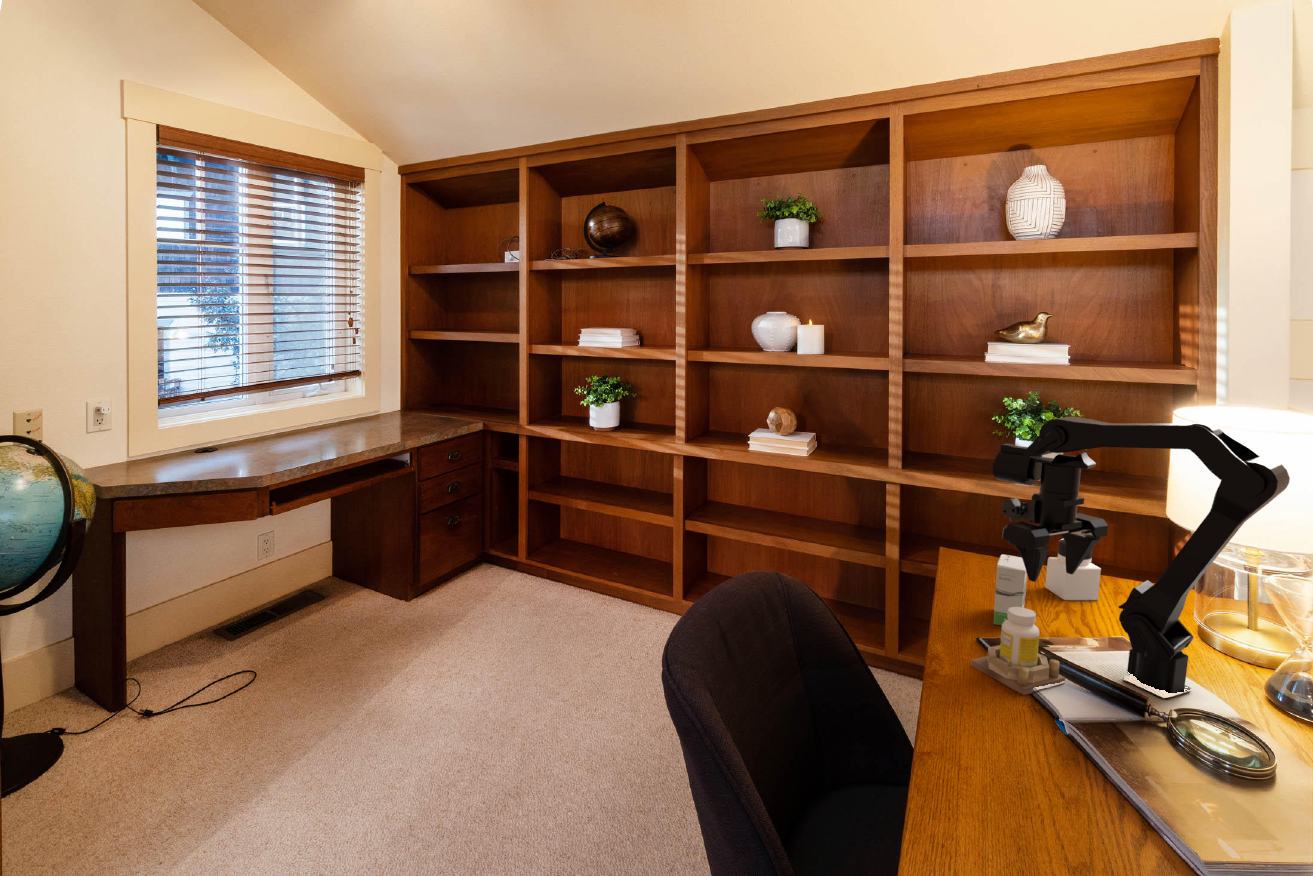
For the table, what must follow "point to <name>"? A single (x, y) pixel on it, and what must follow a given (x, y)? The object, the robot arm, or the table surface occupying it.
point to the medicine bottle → (1072, 577)
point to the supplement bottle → (1020, 638)
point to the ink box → (1009, 586)
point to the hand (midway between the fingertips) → (1051, 577)
